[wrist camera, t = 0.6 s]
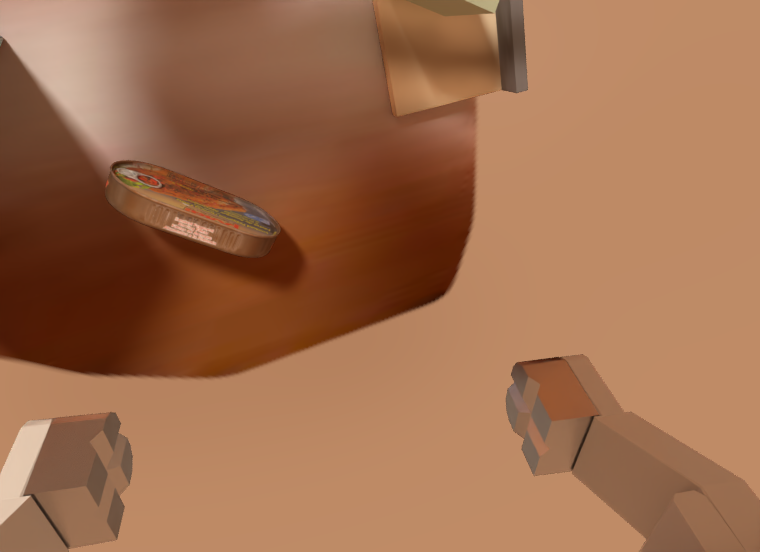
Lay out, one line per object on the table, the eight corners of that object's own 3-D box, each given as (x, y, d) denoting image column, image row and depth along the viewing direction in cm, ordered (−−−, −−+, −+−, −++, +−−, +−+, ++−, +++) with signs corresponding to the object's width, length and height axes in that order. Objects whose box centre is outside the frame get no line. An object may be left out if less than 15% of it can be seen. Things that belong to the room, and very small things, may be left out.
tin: (277, 212, 54) (287, 240, 46) (265, 239, 55) (273, 271, 47) (120, 150, 48) (103, 172, 40) (109, 182, 48) (91, 209, 41)
